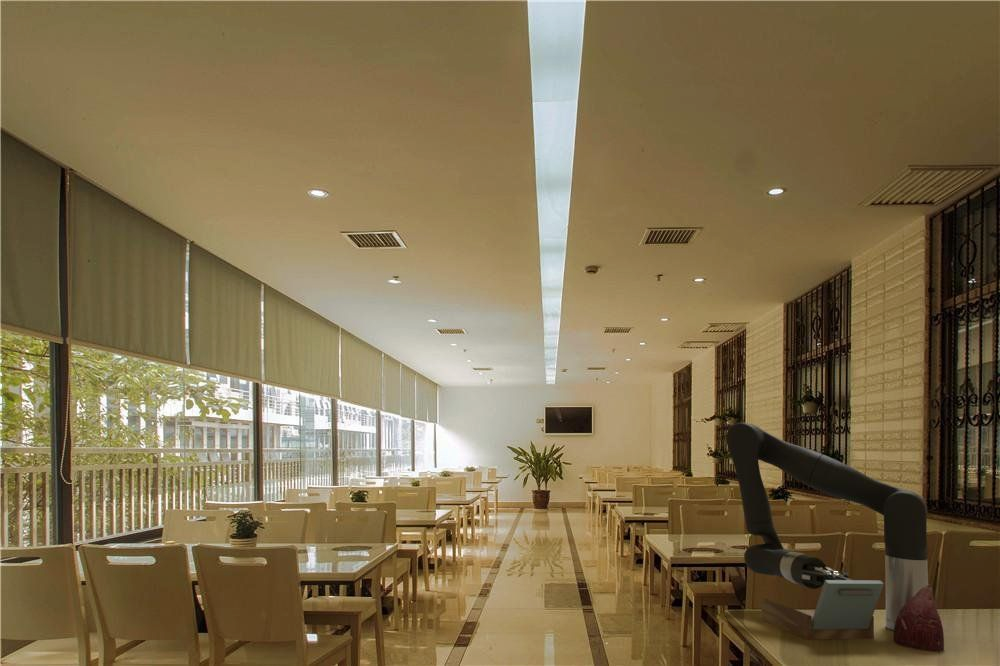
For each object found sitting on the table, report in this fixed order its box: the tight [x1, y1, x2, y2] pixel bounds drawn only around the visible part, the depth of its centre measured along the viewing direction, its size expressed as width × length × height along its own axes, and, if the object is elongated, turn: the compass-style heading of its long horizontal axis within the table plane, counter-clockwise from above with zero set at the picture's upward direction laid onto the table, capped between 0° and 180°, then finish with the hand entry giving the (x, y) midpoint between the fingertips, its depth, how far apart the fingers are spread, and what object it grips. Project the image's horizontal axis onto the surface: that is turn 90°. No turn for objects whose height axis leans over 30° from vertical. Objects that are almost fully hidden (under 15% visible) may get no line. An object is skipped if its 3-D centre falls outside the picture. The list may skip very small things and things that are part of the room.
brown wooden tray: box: [760, 598, 875, 640], centre depth 186 cm, size 18×18×5 cm
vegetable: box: [892, 583, 945, 652], centre depth 177 cm, size 10×10×15 cm
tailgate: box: [812, 579, 884, 629], centre depth 176 cm, size 14×2×12 cm, turn 104°
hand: (850, 584), depth 176 cm, fingers closed
